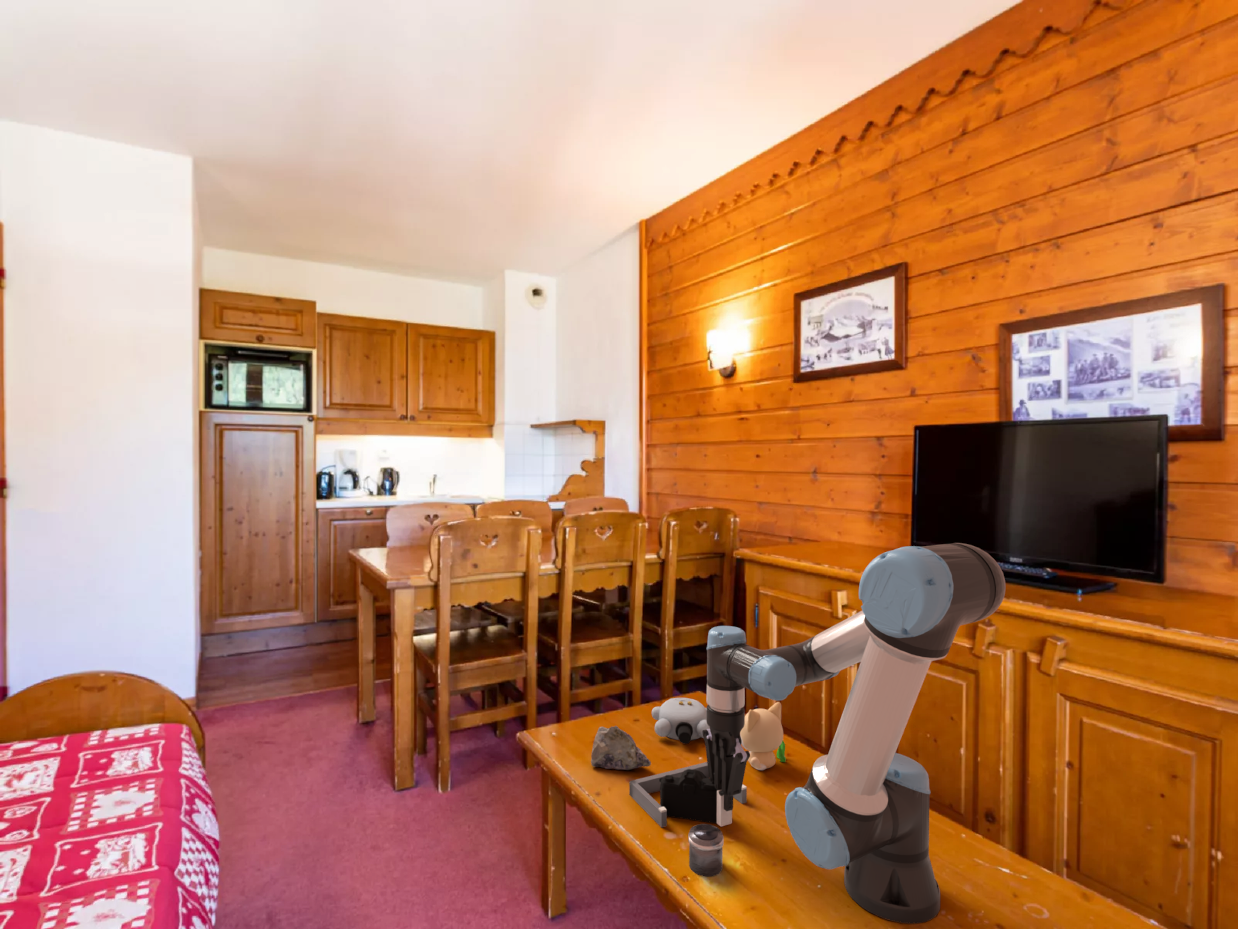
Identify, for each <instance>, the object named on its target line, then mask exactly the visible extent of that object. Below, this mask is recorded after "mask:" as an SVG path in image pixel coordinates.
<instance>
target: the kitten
mask: <svg viewBox="0 0 1238 929" xmlns="http://www.w3.org/2000/svg"><path fill="white" fill-rule="evenodd" d="M740 736H741V740H742V743H741V746H742V748H743V749H745V750H746V751H749V753H750V757H749V759H748V761H747V762H748V763H749V764H750V765H751V767H753V768H754V769H756V770H758V771H765V770H766V769H770V768H772V767H773V766H774V765H775V764H776V761H777V760H776V759H778V760H779V763H786V760H787V758H786V756H785V755H786V753H785V752H786V744H785V741H784V728H783V726H782V703H781V702H780V701H776V702H775V703H774V704H773V705H771V706H770V707H769V708H767V709H765V708H755V709H749V710H748V712H747V713H745V725H744V727H743V728H742V730H741V732H740ZM775 750H777V751H776V754H775V753H774V752H773V751H775Z"/></svg>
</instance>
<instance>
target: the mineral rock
mask: <svg viewBox="0 0 1238 929" xmlns="http://www.w3.org/2000/svg"><path fill="white" fill-rule="evenodd" d="M591 750H592V751H591V760H590V764H591V766H592V767H594V768H596V767H597V768H604V769H607V770H608V769H609V770H611V769H613V770H614V769H615V770H618V771H619V770H624V771H625V770H626V771H630V770H633V769H639V768H641V767H651V765H652V762H651V760H650V759H649V758H647V755H646V754H644V752H643V751H642V750H641V749H640V748H639V747H638V746H637V743H636V741H635V740H634V739H633V737H632V736H631V735H630V734H629V733H627V732H626V731H624V730H622V729H620V728H619V726H617V725H614V726H610V727H609V728H607V727H604V726H599V727H598V730H597V732H596V734H595V736H594V740H593V744H592V749H591Z"/></svg>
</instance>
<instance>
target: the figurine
mask: <svg viewBox="0 0 1238 929" xmlns="http://www.w3.org/2000/svg"><path fill="white" fill-rule="evenodd" d="M651 716H652V718H653V719H654V720H656V722H655V724H654V732H655V734H656V735H657V736H659V737H662V738H663V737H664V738H665V737H667V738H669V739H672V740H677V741H679V742H680V743H681V744H683V745H687V744H689V743H690V742H691V741H695V740H697V739H700V738H702V739H704V737H703V734H702V731H703V730H706V729H710V727H709V726H708V724H707V707H705V706H704V705H703V704H702V703H701V702H700V701H699V700H696V699H693V698H688V697H675V698H674V697H673V698H669V699H668V700H665V702H663V703H662V704H661V706H660V705H659V706H655V707H653V708H652V710H651Z"/></svg>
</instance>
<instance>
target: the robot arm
mask: <svg viewBox="0 0 1238 929" xmlns="http://www.w3.org/2000/svg"><path fill="white" fill-rule="evenodd" d="M1005 594H1006V580H1005V576H1004V572H1003V571H1002V569H1001V565H999V564H998V562H997V561H996V560H995V559H994V558H993V557H992V556H991V555H990V554H989V553H988V552H987V551H984V550H983V549H981V548H980V547H977V546H974V545H972V544H967V543H962V542H953V543H951V542H950V543H943V544H934V545H933V544H932V545H926V546H917V545H916V546H915V545H913V546H912V545H911V546H909V545H908V546H901V547H899V548H895V549H893V550H888V551H886V552H883V553H881V554H878V555H877V556H876V557H875V558H873V559H872V560H871V561H870V562H869V563H868V565H867V566H866V567H865V569H864V570H863V572H862V574H861V578H860V581H859V587H858V599H859V600H860V601H861V602H862V605H861V606H860V608H861V610H860V611H858V612H856V613H855V614H853V615H851V616H849V617H848V618H846V619H844V620H842V621H840V622H838V623H836V624H834V625H832V626H831V627H829V628H827V629H825V630H823V631H821V632H818V634H816V635H814V636H812V637H810V638H808V639H806V640H804V641H802V642H798V643H795V644H790V645H784V646H778V647H775V648H769V649H768V648H767V649H760V648H759V649H758V648H756V647H754V646H751V645H749V644H747V638H746V637H747V636H746V632H745V631H744V630H743V629H742V628H741V627H737V626H731V625H718V626H714V627H711V629H709V630H708V635H707V645H706V704H707V705H706V708H707V724H708V726H709V727H710V729H706V730H703V731H702V734H703V737H704V738H703V741H704V744H705V745H704V747H705V753H706V762H707V764H708V772H709V779H710V781H711V782H714V786H715V788H716V803H717V823H716V824H717V825H718V826H720V827H724V826H727V825H731V824H732V823H733V809H734V797H733V795H736V794H740V793H741V789H742V785H744V784H743V783H744V777H745V773H746V766H747V763H748V762H749V761H748V759H749V757H750V753H749V752H750V751H749V750H744V749H745V748H744V747H743V746H742V744H741V743H742V740H741V736H740V732H741V730H742V728H743V727H744V725H745V715H746V713H745V712H746V710H745V702H746V701H745V698H746V697H745V689H747V690H749V691H750V692H751V691H752V692H753V693H754V694H756V695H758V696H759V697H763V698H766V699H769V700H771V701H776V702H780V701H784V700H785V699H788V696H789V695H791V694H792V693H793V691H794V689H795V687H799V686H801V685H806V684H810V683H815V682H824V681H827V680H830V679H831V678H833V677H836V676H838V675H839V673H840V672H841V671H843V670H845V669H847V668H849V667H852V666H854V665H856V664H858V663H859V665H858V668H857V672H856V674H855V677H854V680H853V683H852V685H851V688H850V691H849V695H848V697H847V700H846V703H845V705H844V709H843V711H842V714H841V717H840V720H839V722H838V725H837V728H836V732H835V734H834V736H833V739H832V742H831V745H830V748H829V751H828V754H824V755H821V756H819V757H818V758H817V759H816V760H815V762H814V763H813V765H812V768H811V770H810V773H809V776H808V779H807V782H806V783H805V785H804V786H803V787H802V786H801V787H800V786H799V787H795V788H794V789H793V790H791V792H789V793H788V795H787V796H786V799H785V803H784V811H785V812H784V813H785V820H786V824H787V827H788V828H789V832H790V834H791V836H792V839H793V840H794V843H795V845H796V846H797V847H798V848H799V850H800V851H801V853H802V854H803V855H804V856H805V857H806V858H807V860H809V861H810V862H811V863H812V864H814V865H815V866H817V867H818V868H821V869H825V870H834V869H837V868H840V867H841V868H843V867H844V870H843V873H844V876H843V877H844V878H843V880H844V881H843V883H844V886H845V890H846V892H847V894H848V895H849V896H850V898H852V900H853V901H854V902H855V903H856V904H858V905H859V906H860V907H861V908H862V909H864V910H866V911H867V912H869V913H871V914H873V915H875V916H877V917H879V918H882V919H884V920H888V921H891V922H895V923H900V924H901V923H902V924H920V923H926V922H928V921H931V920H932V919H934V918H935V917H936V916H938V913H939V912H940V909H941V889H940V887H939V886H940V885H939V883H938V882H937V880H936V877H935V873H934V869H933V865H932V862H931V859H930V849H929V847H930V844H929V843H930V795H931V789H930V779H929V777H930V776H929V773H928V772H927V770H926V769H925V767H924V766H923V765H922V764H921V763H920V762H917V761H916V760H914V759H913V758H910V757H909V756H906V755H904V754H901V753H897V749H898V747H899V744H900V741H901V739H902V736H903V735H904V732H905V728H906V727H907V724H908V722H909V719H910V716H911V714H912V711H913V709H914V706H915V704H916V702H917V700H918V696H919V695H920V694H919V693H920V691H921V689H922V686H923V683H924V681H925V679H926V676H927V674H928V671H929V668H930V665H931V664H932V662H933V661H939V660H942V659H945V658H946V657H947V655H948V654H949V652H950V649H951V647H952V644H953V642H954V639H955V637H956V634H957V632H958V630H959V628H960V627H961V626H964V625H968V624H972V623H976V622H978V621H982V620H984V619H987V618H988V617H990V616H991V615H993V614H994V613H995V612H996V611H997V610H998V609H999V607H1000V606H1001V605H1002V603H1003V600H1004V598H1005Z"/></svg>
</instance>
